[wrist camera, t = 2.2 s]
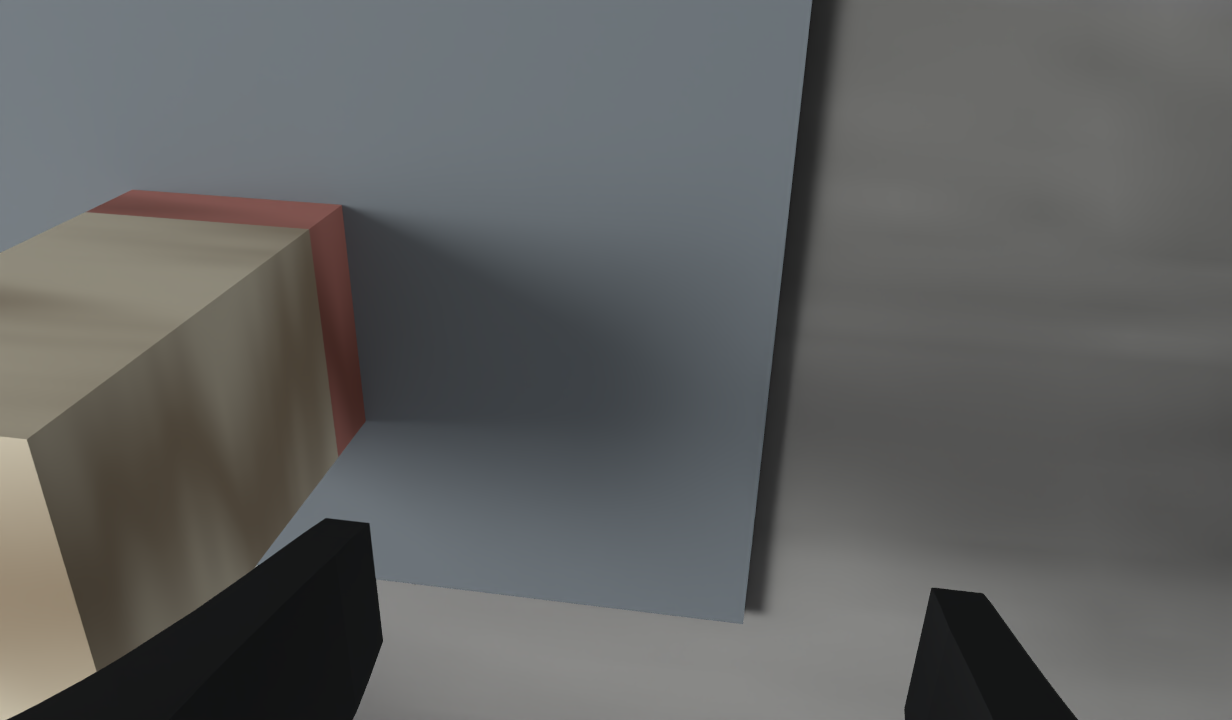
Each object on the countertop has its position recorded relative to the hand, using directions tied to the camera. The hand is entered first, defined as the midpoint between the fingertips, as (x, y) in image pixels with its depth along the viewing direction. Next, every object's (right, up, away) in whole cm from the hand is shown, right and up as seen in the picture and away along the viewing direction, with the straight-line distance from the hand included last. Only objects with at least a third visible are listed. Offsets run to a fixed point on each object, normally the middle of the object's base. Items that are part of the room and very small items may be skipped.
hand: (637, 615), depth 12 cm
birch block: (-8, +4, +8) cm, 12 cm away
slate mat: (-9, +6, +8) cm, 13 cm away
